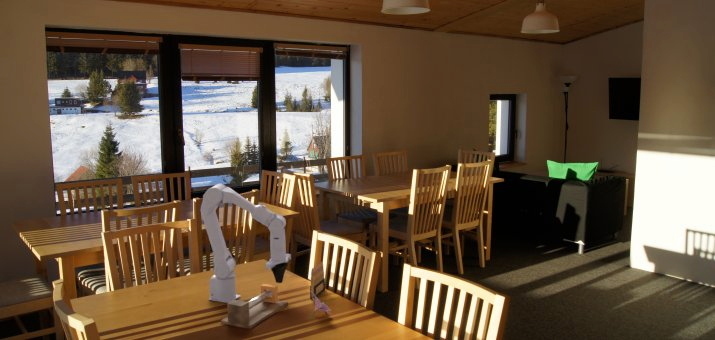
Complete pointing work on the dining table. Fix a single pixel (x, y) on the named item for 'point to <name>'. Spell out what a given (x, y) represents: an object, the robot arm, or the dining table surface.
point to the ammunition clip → (317, 281)
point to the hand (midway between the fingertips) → (279, 282)
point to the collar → (274, 292)
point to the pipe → (260, 298)
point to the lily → (320, 305)
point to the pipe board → (250, 313)
